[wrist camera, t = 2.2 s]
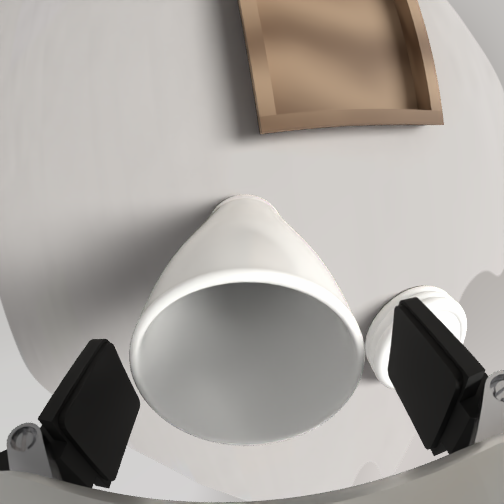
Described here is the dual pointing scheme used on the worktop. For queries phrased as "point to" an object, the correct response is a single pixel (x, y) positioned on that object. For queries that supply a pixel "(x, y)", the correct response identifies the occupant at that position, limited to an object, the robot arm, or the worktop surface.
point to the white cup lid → (383, 324)
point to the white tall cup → (246, 332)
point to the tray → (339, 64)
